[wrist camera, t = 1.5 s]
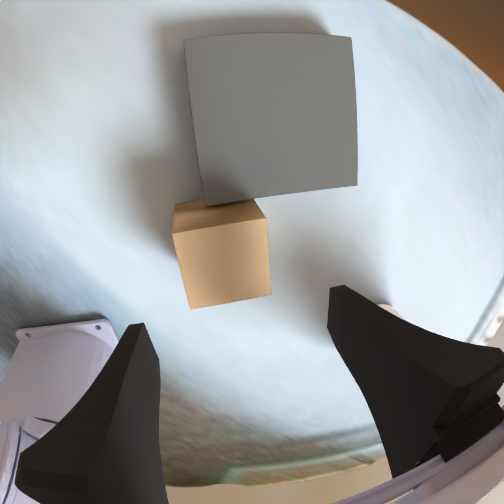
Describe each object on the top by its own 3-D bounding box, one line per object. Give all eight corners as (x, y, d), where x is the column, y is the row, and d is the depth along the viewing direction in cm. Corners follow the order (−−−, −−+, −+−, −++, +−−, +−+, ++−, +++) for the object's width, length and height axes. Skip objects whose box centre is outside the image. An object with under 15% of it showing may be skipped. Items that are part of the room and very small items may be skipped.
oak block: (188, 268, 20) (190, 309, 16) (175, 203, 18) (171, 233, 14) (255, 256, 21) (271, 294, 17) (248, 191, 19) (265, 217, 15)
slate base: (203, 195, 18) (205, 206, 16) (184, 47, 14) (183, 39, 12) (342, 177, 19) (357, 185, 17) (335, 42, 15) (351, 37, 13)
